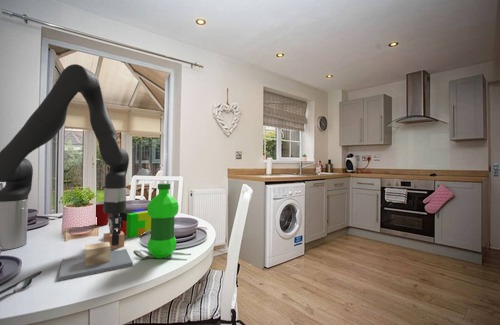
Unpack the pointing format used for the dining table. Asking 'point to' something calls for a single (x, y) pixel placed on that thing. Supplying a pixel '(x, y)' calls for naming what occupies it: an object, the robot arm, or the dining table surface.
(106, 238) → the terracotta block
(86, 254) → the beech block
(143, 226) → the puzzle toy
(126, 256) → the baseplate
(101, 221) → the plastic cup
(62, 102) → the robot arm
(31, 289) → the dining table surface
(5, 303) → the dining table surface
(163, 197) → the plastic bottle
